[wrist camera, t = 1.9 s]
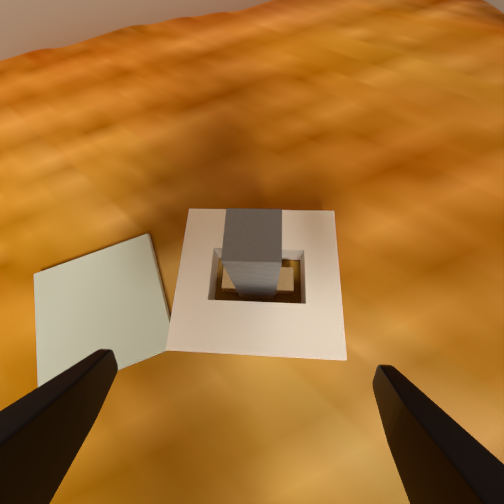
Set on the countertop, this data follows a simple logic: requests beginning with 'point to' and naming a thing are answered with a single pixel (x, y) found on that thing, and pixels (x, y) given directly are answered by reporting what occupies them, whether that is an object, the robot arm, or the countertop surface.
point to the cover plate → (260, 313)
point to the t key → (254, 254)
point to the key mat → (101, 308)
